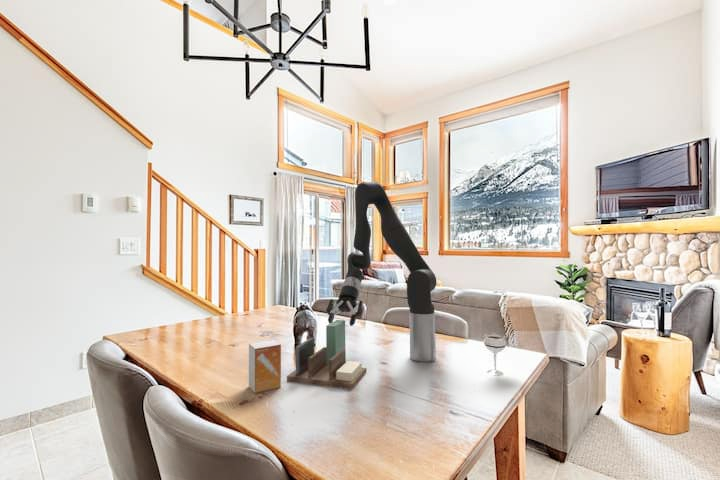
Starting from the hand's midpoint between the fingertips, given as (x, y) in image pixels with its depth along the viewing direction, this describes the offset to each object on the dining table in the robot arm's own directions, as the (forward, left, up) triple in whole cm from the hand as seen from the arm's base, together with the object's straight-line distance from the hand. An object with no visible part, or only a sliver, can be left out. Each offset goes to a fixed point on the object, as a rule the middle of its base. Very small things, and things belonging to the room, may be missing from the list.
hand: (340, 324), depth 131 cm
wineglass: (-55, +1, -13) cm, 56 cm away
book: (0, +5, -13) cm, 13 cm away
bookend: (+5, +20, -11) cm, 23 cm away
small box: (+12, +33, -13) cm, 37 cm away
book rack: (-3, +20, -13) cm, 24 cm away
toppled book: (-11, +20, -11) cm, 25 cm away
